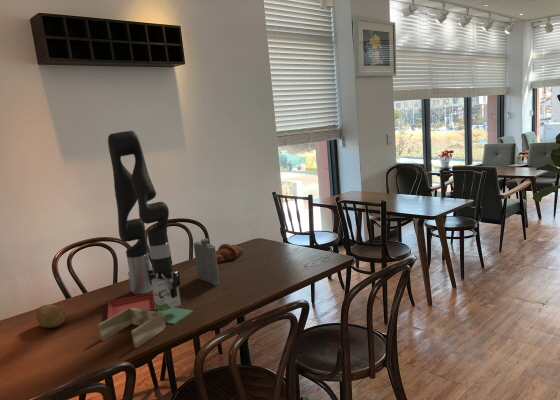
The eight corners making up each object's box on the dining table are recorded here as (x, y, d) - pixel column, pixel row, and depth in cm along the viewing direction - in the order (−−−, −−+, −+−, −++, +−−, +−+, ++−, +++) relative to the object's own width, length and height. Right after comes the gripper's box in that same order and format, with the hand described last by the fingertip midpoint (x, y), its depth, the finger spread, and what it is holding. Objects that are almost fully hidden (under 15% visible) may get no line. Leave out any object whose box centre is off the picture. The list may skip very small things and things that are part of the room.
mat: (146, 319, 165) (146, 318, 165) (166, 307, 175) (166, 306, 175) (174, 324, 159) (174, 323, 159) (193, 311, 168) (193, 310, 168)
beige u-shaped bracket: (101, 340, 152) (98, 324, 151) (131, 321, 165) (128, 307, 164) (136, 348, 144) (133, 331, 143) (165, 328, 157) (163, 312, 155)
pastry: (216, 254, 240) (214, 240, 239) (243, 251, 241) (241, 237, 239) (212, 264, 224) (211, 249, 222) (242, 261, 224) (240, 246, 223)
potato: (48, 336, 160) (43, 316, 158) (32, 327, 169) (28, 308, 167) (74, 325, 167) (70, 305, 165) (58, 317, 176) (54, 298, 174)
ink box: (160, 312, 162) (155, 282, 160) (155, 308, 166) (150, 279, 164) (181, 304, 166) (177, 276, 164) (176, 301, 170) (172, 273, 168)
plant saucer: (154, 298, 186) (153, 291, 185) (157, 315, 169) (156, 307, 169) (110, 308, 180) (108, 301, 180) (108, 326, 164) (107, 318, 163)
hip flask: (197, 278, 205) (191, 238, 201) (204, 275, 208) (199, 235, 204) (215, 285, 193) (209, 243, 189) (222, 283, 196) (217, 240, 192)
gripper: (139, 257, 162) (146, 298, 165) (168, 259, 156) (174, 302, 159) (153, 250, 169) (159, 290, 172) (181, 252, 162) (188, 294, 165)
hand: (167, 296), depth 165 cm, fingers closed on ink box, 6 cm apart
